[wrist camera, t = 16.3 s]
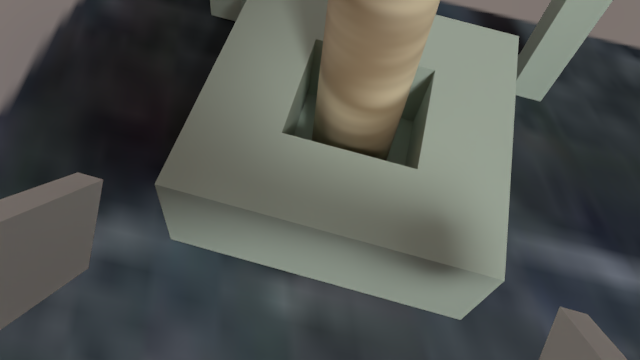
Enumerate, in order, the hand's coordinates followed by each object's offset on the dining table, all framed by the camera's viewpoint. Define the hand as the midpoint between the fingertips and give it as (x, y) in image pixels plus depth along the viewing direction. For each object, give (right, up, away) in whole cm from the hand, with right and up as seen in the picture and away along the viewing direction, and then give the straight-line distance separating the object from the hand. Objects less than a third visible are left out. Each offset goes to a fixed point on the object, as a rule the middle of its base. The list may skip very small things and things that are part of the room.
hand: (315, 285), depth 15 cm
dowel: (+2, +5, +13) cm, 14 cm away
